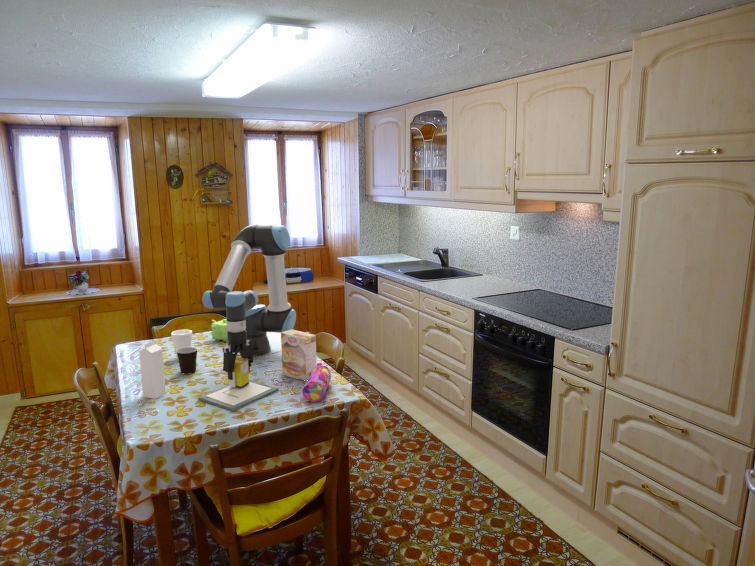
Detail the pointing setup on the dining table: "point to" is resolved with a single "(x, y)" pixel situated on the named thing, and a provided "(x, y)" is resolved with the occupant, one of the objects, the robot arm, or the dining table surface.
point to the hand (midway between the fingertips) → (239, 383)
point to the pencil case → (317, 383)
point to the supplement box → (241, 372)
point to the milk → (152, 371)
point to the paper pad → (238, 395)
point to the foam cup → (181, 339)
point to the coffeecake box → (298, 354)
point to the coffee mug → (187, 359)
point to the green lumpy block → (220, 330)
